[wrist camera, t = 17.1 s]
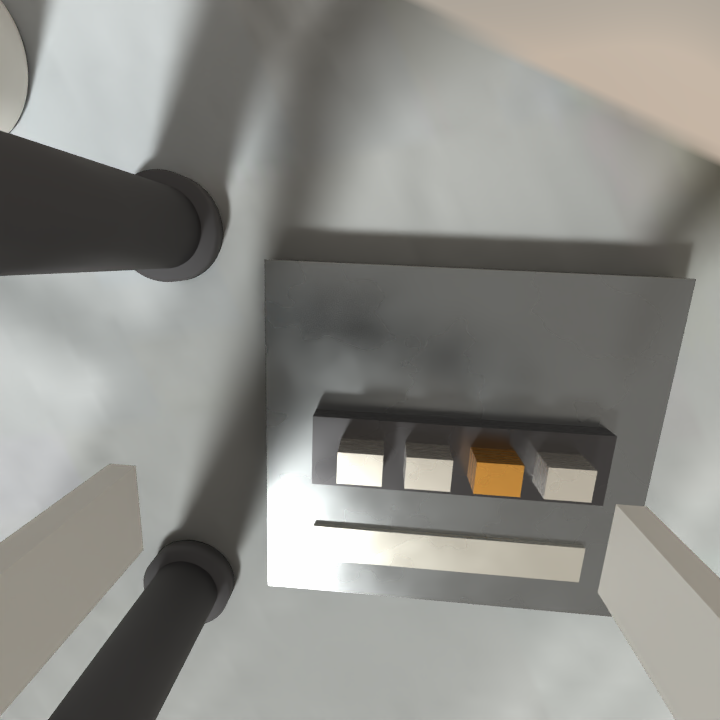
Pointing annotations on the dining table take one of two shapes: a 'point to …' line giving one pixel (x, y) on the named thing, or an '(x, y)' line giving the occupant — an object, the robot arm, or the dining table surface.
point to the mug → (11, 72)
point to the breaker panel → (460, 426)
